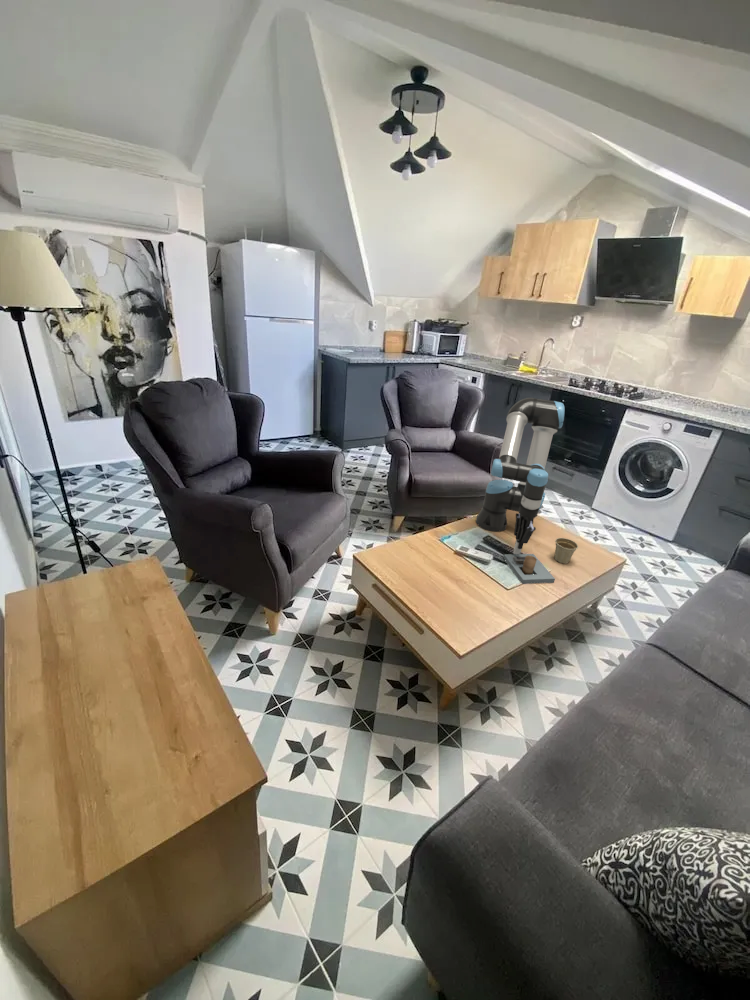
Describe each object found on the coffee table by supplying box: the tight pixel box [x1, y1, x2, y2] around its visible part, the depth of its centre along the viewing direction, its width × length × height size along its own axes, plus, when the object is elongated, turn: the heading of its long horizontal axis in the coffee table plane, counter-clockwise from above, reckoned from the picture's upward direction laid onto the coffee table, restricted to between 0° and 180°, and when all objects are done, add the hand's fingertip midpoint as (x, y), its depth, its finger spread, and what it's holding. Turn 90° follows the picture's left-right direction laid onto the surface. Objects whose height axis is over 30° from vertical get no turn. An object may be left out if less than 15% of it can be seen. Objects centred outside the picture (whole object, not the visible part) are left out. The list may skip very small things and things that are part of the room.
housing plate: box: [503, 553, 556, 585], centre depth 175 cm, size 18×14×2 cm
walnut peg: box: [521, 555, 538, 575], centre depth 171 cm, size 4×4×8 cm
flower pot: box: [554, 537, 579, 564], centre depth 184 cm, size 9×9×9 cm
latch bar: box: [512, 556, 526, 566], centre depth 176 cm, size 3×8×3 cm, turn 99°
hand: (516, 553), depth 182 cm, fingers closed
